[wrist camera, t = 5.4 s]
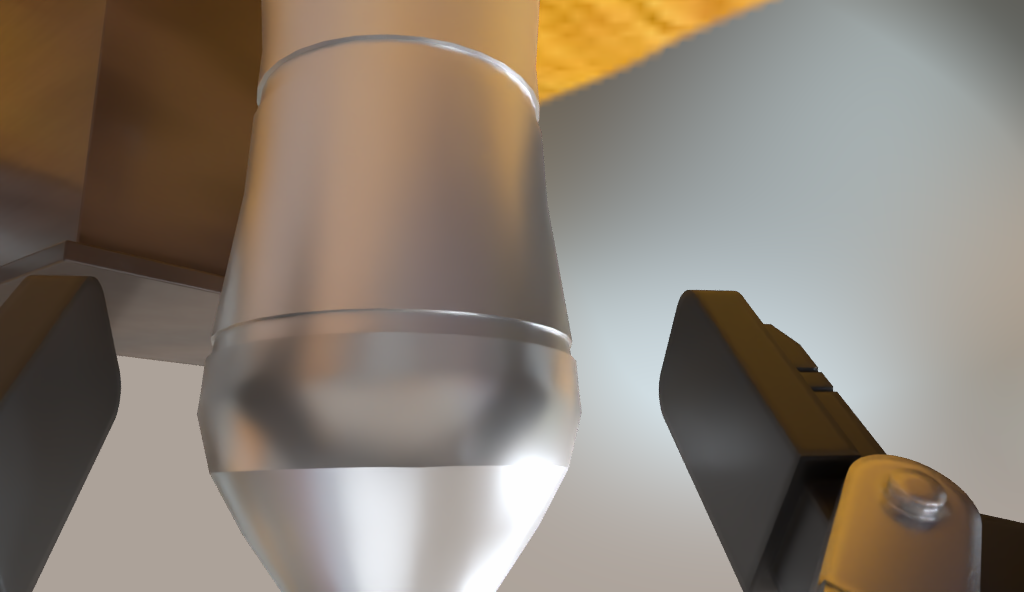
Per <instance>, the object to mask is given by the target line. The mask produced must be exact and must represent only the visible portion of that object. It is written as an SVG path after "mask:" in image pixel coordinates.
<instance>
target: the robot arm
mask: <svg viewBox="0 0 1024 592" xmlns="http://www.w3.org/2000/svg"><path fill="white" fill-rule="evenodd" d="M120 394H121V380H120V371H119V366H118V361H117V356H116V351H115V346H114V341H113V336H112V331H111V326H110V321H109V316H108V311H107V306H106V301H105V296H104V292H103V289H102V286H101V284H100V282H99V281H98V279H97V278H95V277H93V276H59V275H29V276H27V277H26V278H25V279H24V280H23V281H22V282H21V283H20V284H19V286H18V287H17V288H16V289H15V290H14V291H13V293H12V294H11V295H10V296H9V297H8V299H7V300H6V301H5V302H4V303H3V305H2V306H1V307H0V592H32V591H33V589H34V587H35V585H36V583H37V580H38V578H39V576H40V574H41V572H42V570H43V568H44V566H45V564H46V562H47V560H48V558H49V555H50V553H51V551H52V549H53V547H54V545H55V543H56V541H57V539H58V537H59V535H60V533H61V530H62V528H63V526H64V524H65V522H66V520H67V518H68V516H69V514H70V512H71V510H72V507H73V506H74V503H75V501H76V499H77V497H78V495H79V493H80V491H81V489H82V487H83V485H84V483H85V481H86V479H87V476H88V474H89V472H90V470H91V468H92V466H93V464H94V462H95V460H96V458H97V456H98V454H99V451H100V449H101V447H102V445H103V443H104V441H105V439H106V437H107V435H108V433H109V431H110V429H111V426H112V424H113V422H114V420H115V418H116V415H117V412H118V407H119V402H120ZM659 400H660V406H661V411H662V414H663V417H664V419H665V422H666V424H667V426H668V428H669V430H670V433H671V435H672V437H673V439H674V441H675V443H676V446H677V448H678V450H679V452H680V454H681V457H682V459H683V461H684V463H685V465H686V467H687V470H688V472H689V474H690V476H691V478H692V480H693V483H694V485H695V487H696V489H697V491H698V493H699V496H700V498H701V500H702V502H703V504H704V507H705V509H706V511H707V513H708V515H709V518H710V520H711V522H712V524H713V526H714V528H715V531H716V533H717V535H718V537H719V539H720V541H721V544H722V546H723V548H724V550H725V553H726V555H727V557H728V559H729V561H730V563H731V566H732V568H733V570H734V572H735V574H736V577H737V578H738V581H739V583H740V585H741V587H742V590H743V592H1024V523H1020V522H1016V521H1011V520H1007V519H1002V518H998V517H993V516H988V515H983V514H980V513H979V512H978V510H977V508H976V506H975V505H974V503H973V501H972V500H971V499H970V498H969V497H968V495H967V494H966V493H965V492H964V491H963V490H961V488H960V487H958V486H957V485H956V484H955V483H954V482H952V481H951V480H950V479H948V478H947V477H945V476H944V475H942V474H941V473H939V472H937V471H935V470H933V469H932V468H930V467H928V466H925V465H923V464H921V463H919V462H916V461H913V460H910V459H907V458H902V457H898V456H893V455H887V454H886V453H885V452H884V451H883V449H882V448H881V447H880V446H879V444H878V443H877V442H876V441H875V439H874V438H873V437H872V435H871V434H870V433H869V431H868V430H867V429H866V428H865V426H864V425H863V424H862V423H861V421H860V420H859V419H858V418H857V416H856V415H855V414H854V413H853V411H852V410H851V409H850V407H849V406H848V405H847V404H846V402H845V401H844V400H843V399H842V397H841V396H840V395H839V394H838V392H833V386H832V385H831V383H830V382H829V381H828V380H827V378H826V377H825V376H824V375H823V373H822V372H818V367H817V366H816V364H815V363H814V362H813V361H812V360H811V358H810V357H809V356H808V354H807V353H806V352H805V351H804V349H803V348H802V347H801V345H800V344H798V343H797V342H795V341H794V340H793V339H791V338H790V337H788V336H787V335H785V334H784V333H783V332H781V331H780V330H778V329H777V328H775V327H774V326H773V325H771V324H763V323H762V322H761V320H760V319H759V318H758V316H757V315H756V314H755V312H754V311H753V310H752V308H751V307H750V306H749V304H748V303H747V302H746V300H745V299H744V298H743V296H742V295H741V294H740V293H739V292H737V291H714V290H687V291H685V292H684V293H683V294H682V296H681V297H680V300H679V302H678V305H677V309H676V313H675V317H674V321H673V325H672V329H671V334H670V337H669V342H668V346H667V350H666V354H665V358H664V362H663V366H662V370H661V374H660V381H659Z"/></svg>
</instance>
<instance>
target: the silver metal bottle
mask: <svg viewBox="0 0 1024 592" xmlns="http://www.w3.org/2000/svg"><path fill="white" fill-rule="evenodd" d="M539 1H540V0H261V8H262V57H261V65H260V72H259V80H258V88H257V105H258V109H257V111H256V113H255V115H254V119H253V127H252V135H251V143H250V151H249V159H248V167H247V175H246V183H245V191H244V196H243V200H242V205H241V209H240V213H239V218H238V222H237V226H236V231H235V235H234V239H233V244H232V248H231V252H230V257H229V261H228V265H227V270H226V274H225V278H224V283H223V287H222V291H221V296H220V300H219V304H218V309H217V313H216V317H215V322H214V326H213V330H212V335H211V343H212V345H213V349H212V354H210V355H209V356H208V357H207V358H206V359H205V366H204V374H203V381H202V388H201V394H200V401H199V406H198V412H197V416H198V421H199V426H200V430H201V435H202V440H203V444H204V449H205V454H206V458H207V463H208V468H209V473H210V475H211V477H212V479H213V481H214V482H215V484H216V486H217V488H218V490H219V492H220V494H221V496H222V497H223V499H224V501H225V503H226V505H227V507H228V509H229V510H230V512H231V514H232V516H233V518H234V520H235V522H236V524H237V525H238V527H239V529H240V531H241V533H242V535H243V536H244V538H245V539H246V540H247V542H248V544H249V545H250V546H251V548H252V549H253V551H254V552H255V554H256V555H257V557H258V558H259V560H260V561H261V562H262V564H263V565H264V567H265V568H266V570H267V571H268V573H269V574H270V576H271V577H272V579H273V580H274V582H275V583H276V584H277V586H278V587H279V589H280V590H281V592H496V591H497V589H498V588H499V586H500V584H501V583H502V581H503V580H504V578H505V577H506V575H507V574H508V572H509V571H510V569H511V568H512V566H513V564H514V563H515V561H516V560H517V558H518V557H519V555H520V554H521V552H522V550H523V549H524V548H525V546H526V544H527V543H528V541H529V540H530V538H531V537H532V535H533V534H534V532H535V531H536V529H537V528H538V526H539V524H540V522H541V520H542V518H543V516H544V514H545V512H546V510H547V509H548V507H549V505H550V503H551V501H552V499H553V497H554V495H555V493H556V491H557V489H558V487H559V485H560V483H561V482H562V480H563V478H564V476H565V474H566V472H567V470H568V468H569V465H570V461H571V455H572V452H573V447H574V443H575V439H576V434H577V430H578V425H579V421H580V417H581V403H580V395H579V386H578V376H577V366H576V360H575V359H574V358H573V357H572V356H571V353H570V348H571V345H572V338H571V332H570V327H569V321H568V316H567V310H566V304H565V299H564V294H563V288H562V282H561V277H560V272H559V266H558V260H557V254H556V249H555V243H554V238H553V232H552V227H551V221H550V216H549V210H548V204H547V192H546V181H545V168H544V156H543V144H542V132H541V129H540V127H539V125H538V120H539V97H538V85H537V74H536V55H537V37H538V19H539Z"/></svg>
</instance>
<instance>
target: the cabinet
mask: <svg viewBox="0 0 1024 592" xmlns="http://www.w3.org/2000/svg"><path fill="white" fill-rule="evenodd" d="M261 57H262V8H261V0H0V307H1V306H2V305H3V303H4V302H5V301H6V300H7V299H8V297H9V296H10V295H11V294H12V293H13V291H14V290H15V289H16V288H17V287H18V286H19V284H20V283H21V282H22V281H23V280H24V279H25V278H26V277H27V276H29V275H59V276H93V277H95V278H97V279H98V281H99V282H100V284H101V286H102V289H103V292H104V296H105V301H106V306H107V311H108V316H109V321H110V326H111V331H112V336H113V341H114V346H115V351H116V355H119V356H128V357H135V358H143V359H152V360H159V361H167V362H176V363H183V364H192V365H199V366H205V359H206V358H207V357H208V356H209V355H210V354H212V349H213V345H212V343H211V335H212V330H213V326H214V322H215V317H216V313H217V309H218V304H219V300H220V296H221V291H222V287H223V283H224V278H225V274H226V270H227V265H228V261H229V257H230V252H231V248H232V244H233V239H234V235H235V231H236V226H237V222H238V218H239V213H240V209H241V205H242V200H243V196H244V191H245V183H246V175H247V167H248V159H249V151H250V143H251V135H252V127H253V119H254V115H255V113H256V111H257V109H258V105H257V88H258V80H259V72H260V65H261Z"/></svg>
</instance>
